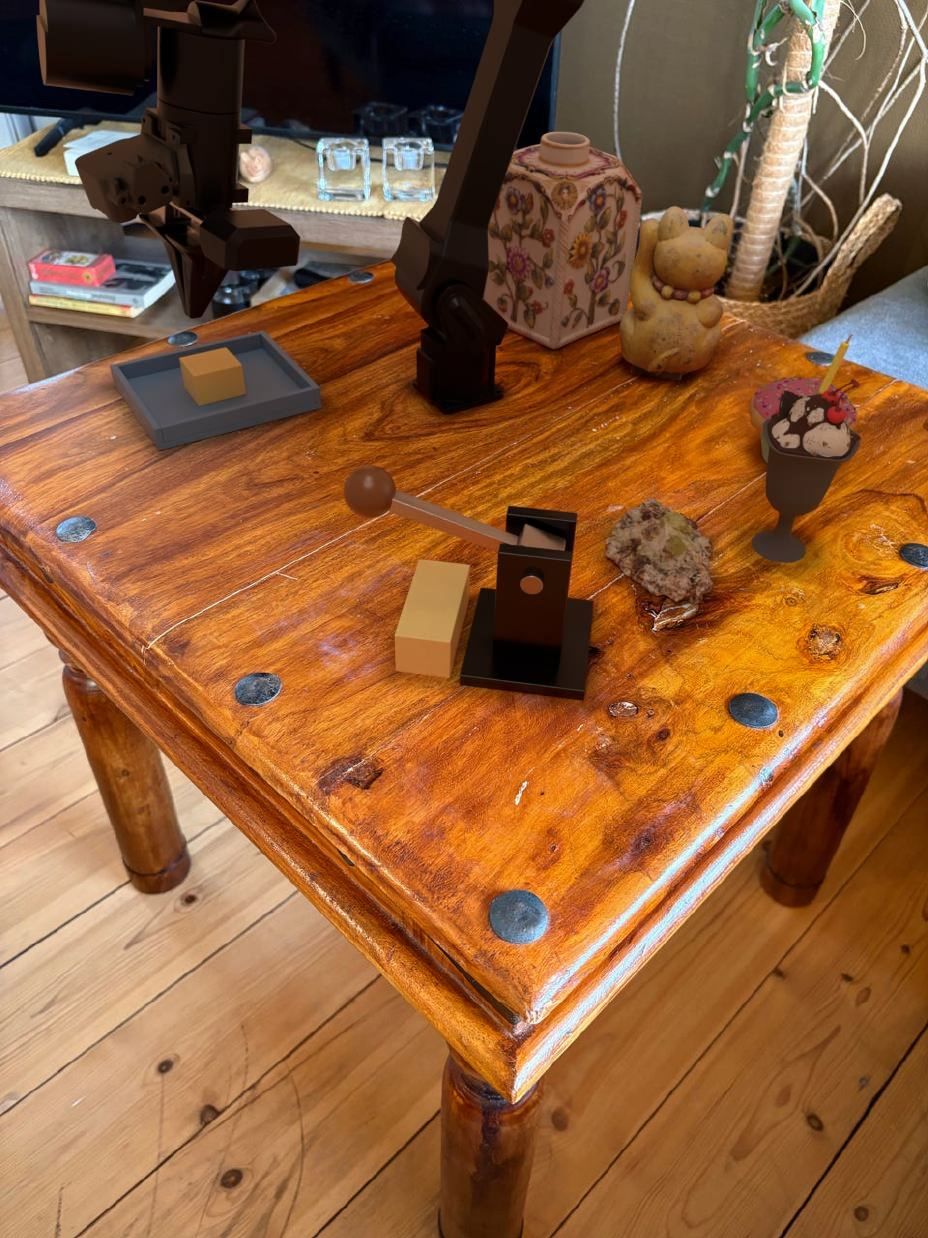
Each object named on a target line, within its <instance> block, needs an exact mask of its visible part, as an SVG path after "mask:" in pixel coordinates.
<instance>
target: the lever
mask: <svg viewBox="0 0 928 1238" xmlns="http://www.w3.org/2000/svg"><path fill="white" fill-rule="evenodd" d="M343 497H344V501H345V504H346V505H347V507H348V509H350V510H351V512H353V513H354V514H355V515H357V516H359V517H361V518H364V519H376V518H379V517H382V516H384V515H386V514H387V513H388V512H389V513H391V514H394V515H397V516H400V517H402V518H405V519H408V520H411V521H413V522H416V523H418V524H421V525H424V526H426V527H429V528H432V529H434V530H437V531H439V532H441V533H445V534H447V535H449V536H453V537H455V538H457V539H459V540H460V539H461V540H463V541H465V542H469V543H470V544H474V545H476V546H479V547H481V548H484V549H487V550H489V551H492V552H495V553H497V554H498V549H499V545H500V544H510V545H519V546H528V547H537V548H545V549H554V550H563V551H565V544H566V539H564V538H561V537H559V536H556V535H554V534H551V533H548V532H546V531H543V530H540V529H538V528H535V527H533V526H530V525H527V524H525V525H524V526H523V528H522V530H521V532H520V535H519V536H516V535H513V534H511V533H508V532H506V531H505V530H504V529H500V528H498V527H495V526H493V525H490V524H487V523H484V522H482V521H480V520H477V519H474V518H471V517H470V516H467V515H464V514H461V513H458V512H455V511H453V510H451V509H448V508H445V507H443V506H440V505H437V504H435V503H432V502H429V501H428V500H425V499H422V498H419V497H418V496H417V497H416V496H414V495H411V494H408V493H406V492H404V491H401V490H399V489H397V487H396V483H395V480H394V479H393V477H392V475H391V474H390V473H389V472H388V471H387V470H385V469H384V468H382V467H380V466H377V465H369V464H368V465H362V466H360V467H357V468H356V469H354V470H353V471H351V472H350V474H349V475H348V476H347V478H346V479H345V481H344V485H343Z"/></svg>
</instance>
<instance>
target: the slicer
mask: <svg viewBox="0 0 928 1238" xmlns="http://www.w3.org/2000/svg"><path fill="white" fill-rule="evenodd" d="M506 509H507V510H506V514H505V530H504V531H506V532H508V533H511V534H513V535H516V536H519V535H520V532H521V530H522V528H523V526H524V525H525V524H527V525H530V526H533V527H535V528H538V529H540V530H543V531H546V532H548V533H551V534H554V535H556V536H559V537H561V538H564V539H566V544H565V551H563V550H554V549H545V548H537V547H528V546H519V545H510V544H500V545H499V549H498V553H497V559H496V578H495V579H496V580H495V588H490V587H480V588H479V591H478V596H477V601H476V605H475V609H474V613H473V617H472V620H471V625H470V630H469V635H468V639H467V643H466V647H465V652H464V655H463V660H462V664H461V665H462V666H461V668H460V673H459V685H460V686H466V687H473V688H479V689H480V688H481V689H488V690H497V691H504V692H512V693H519V694H527V695H535V696H542V697H551V698H558V699H567V700H574V701H581V702H583V701H585V694H586V685H587V676H588V665H589V654H590V646H591V634H592V624H593V614H594V603H595V602H594V600H592V599H583V598H576V597H575V598H574V597H569V591H570V584H571V575H572V566H573V558H574V549H575V540H576V533H577V523H578V516H579V515H578V512H573V511H561V510H553V509H544V508H535V507H525V506H516V505H508V506H507V508H506Z"/></svg>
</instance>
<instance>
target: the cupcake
mask: <svg viewBox="0 0 928 1238" xmlns="http://www.w3.org/2000/svg"><path fill="white" fill-rule="evenodd" d="M853 336H854V334H853V333H850V334H849V336H848V337H847V339H846V340H843V341H841V343H840V344H839V346H838V349H837V351H836V353H835V354H834V357H833V359H832V361H831V363H830V365H829V366H828V367H829V368H828V370H827V372H826V374H825V376H824V378H823V379H822V378H819V377H818V378H817V377H812V376H811V377H802V376H799V377H797V376H789V377H783V378H780V379H774V380H773V381H771V382H769V383H767V384H764V385H762V387H760V388H758V389H757V391H756V392H755V393H754V396H752V399H751V400H750V403H749V407H748V414H749V416H750V424H751V426H752V427H753V428H754V429H755V430H757V431H758V432H759V438H760V446H761V456H762V459H763V461H764V462H765V463H766V464H767V463H768V454H769V445H768V443H767V441H766V439H765V437H764V434H763V423H764V422H765V421H766V420H767V419H770V418H771V416H772V415H773V414H776V413H778V412H779V405H780V400H781V394H782V392H783V391H784V390H787V391H790V392H793V393H795V394H797V395H800V396H804V397H806V396H809V395H813V394H816V393H819V394H823V393H824V391H826V390H833V391H835V390H837V389H839V387H837V386H836V385H834V384H833V383H832V382H833V380H834V378H835V376H836V375H837V372H838V370H839V367H840V366H841V363H843V360H844V358H845V355H846V354H847V353H848V352H847V351H848V349H849V347H850V345H851V344H850V341H851V340H852V337H853ZM837 393H838V395H839V397H840V395H841V394H842V393H843V391H842V389H841V390H839V391H838V392H837ZM849 398H850V397H849V396H847V393H845V394H844V395H843V396H842V398H841V400H840V403H839V407H841V408H842V409H843V410H845V413H846V414H845V418H844V419H843V420H844V421H845V423H846V424H847V426H848V428H850V429H851V430H854V428H855V425H856V421H857V415H858V413H859V410H857V409H856V407H855V406H854V403H853V402H852V401H851V400H850V399H849Z"/></svg>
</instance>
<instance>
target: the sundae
mask: <svg viewBox="0 0 928 1238" xmlns="http://www.w3.org/2000/svg"><path fill="white" fill-rule="evenodd" d="M850 385H851V387H849V388H847V389H845V390H843V389H844V388H846V387H847V386H850ZM860 386H861V384H860V382H858V380H856V379H855V378H851V379H850V382H848V383H846V384H844V385H842V386H840V387H838V389H837V390H835V391H833V390H826V391H824V393H823V394H819V393H816V394H813V395H809V396H806V397H804V396H800V395H797V394H795V393H793V392H790V391H787V390H784V391H783V392H782V394H781V400H780V405H779V412H778V413H776V414H773V415H772V416H771V418H770V419H767V420H766V421H765V422H764V423H763V434H764V437H765V439H766V441H767V443H768V445H769V454H768V463H766V473H765V497H766V500H767V501H768V503H769V504H770V506H771V507H772V508H773V510H775V511H776V512H777V513H778V519H777V523H776V525H775V527H774V528H773V530H772V529H771V530H770V529H769V530H762V531H759V532H758V533H755V534H754V535H753V537H752V538H751V547H752V549H753V551H754V552H755V553H756V554H757V555H759V556H760V557H762V558H764V559H766V560H768V561H772V562H775V563H783V564H791V563H797V562H799V561H801V560H803V559H804V558H805V556H806V553H807V548H806V545H805V544H804V542H803V541H802V540H801V539H799V538H798V537H797V536H795V535H794V534H792V531H793V527H794V522H795V519H796V518H798V517H802V516H805V515H807V514H809V513H812V512H814V511H815V510H817V509H818V508H819V506H820V504H821V503H822V501H823V500H824V497H825V496H826V495H827V493H828V491H829V488H830V486H831V484H832V482H833V480H834V478H835V476H836V474H837V472H838V470H839V468H840V466H841V464H842V463H846V462H848V461H850V460H851V459H853V457H855V455H856V453H857V452H858V450H859V449H860V446H861V439H862V437H861V436H860V434H858V433H857V432H855V430H854V429H852V430H851V429H850V428H848V426H847V424H846V423H845V421H844V420H843V419H844V418H845V414H846V413H845V410H843V409H842V408H841V407H839V403H840V400H841V398H842V396H843V395H845V394H847V392H849V391H850V390H852V389H856V388H860ZM839 390H841V391H842V390H843V391H842V394H841V395H840V397H839V395H838V393H837V392H838V391H839Z"/></svg>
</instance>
